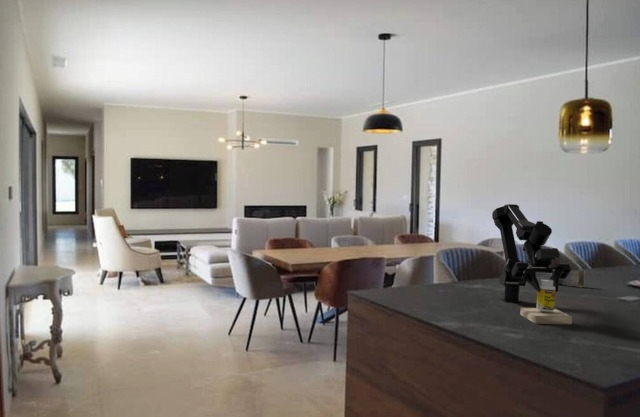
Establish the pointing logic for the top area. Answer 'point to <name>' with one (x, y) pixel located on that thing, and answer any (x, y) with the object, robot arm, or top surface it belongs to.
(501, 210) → the robot arm
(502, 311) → the top surface
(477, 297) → the top surface
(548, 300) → the supplement bottle
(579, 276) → the architectural model on board
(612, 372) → the top surface
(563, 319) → the birch base
